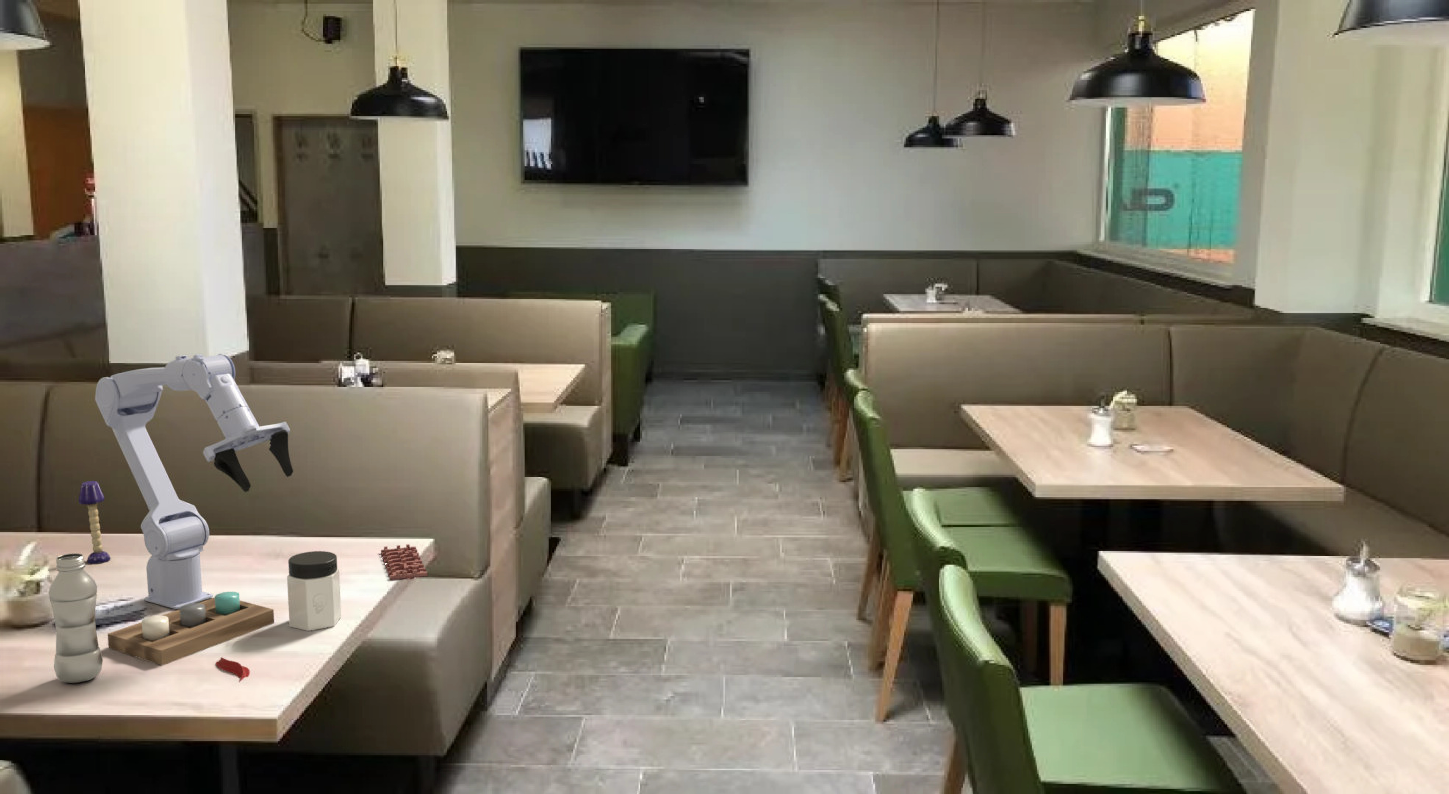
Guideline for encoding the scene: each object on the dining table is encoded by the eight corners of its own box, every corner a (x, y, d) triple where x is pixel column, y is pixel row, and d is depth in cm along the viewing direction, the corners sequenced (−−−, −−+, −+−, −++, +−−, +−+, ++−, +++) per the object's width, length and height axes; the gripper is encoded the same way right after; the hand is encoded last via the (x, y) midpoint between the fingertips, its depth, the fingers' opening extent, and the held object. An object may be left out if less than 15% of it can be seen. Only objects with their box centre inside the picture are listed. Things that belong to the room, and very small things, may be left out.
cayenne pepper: (252, 683, 181) (252, 672, 181) (220, 689, 179) (220, 677, 179) (245, 656, 192) (244, 645, 192) (215, 661, 190) (214, 649, 189)
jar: (295, 634, 200) (292, 568, 198) (284, 620, 207) (280, 555, 205) (347, 624, 205) (344, 560, 203) (335, 610, 212) (332, 548, 210)
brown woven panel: (390, 583, 229) (390, 574, 228) (381, 555, 246) (380, 546, 246) (427, 579, 231) (427, 570, 231) (415, 552, 249) (415, 543, 248)
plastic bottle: (67, 671, 184) (56, 550, 180) (111, 670, 184) (101, 550, 181) (47, 688, 177) (35, 563, 174) (93, 687, 178) (82, 563, 174)
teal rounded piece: (210, 611, 204) (209, 596, 204) (229, 605, 208) (229, 590, 207) (225, 616, 202) (224, 600, 202) (245, 609, 206) (244, 594, 205)
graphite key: (175, 624, 198) (174, 608, 198) (195, 617, 202) (194, 601, 201) (190, 628, 196) (189, 613, 196) (210, 621, 200) (209, 606, 199)
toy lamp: (93, 565, 235) (87, 486, 232) (78, 562, 237) (71, 483, 234) (115, 559, 239) (108, 481, 236) (100, 556, 241) (93, 478, 238)
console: (108, 648, 193) (107, 633, 193) (221, 608, 212) (220, 595, 212) (162, 665, 187) (161, 650, 186) (274, 622, 206) (273, 609, 205)
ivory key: (137, 637, 192) (136, 621, 192) (159, 629, 196) (158, 614, 195) (152, 642, 190) (151, 626, 190) (174, 634, 194) (173, 618, 193)
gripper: (196, 417, 193) (232, 486, 190) (278, 392, 202) (314, 457, 200) (189, 436, 198) (224, 503, 195) (269, 411, 207) (304, 475, 205)
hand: (269, 481), depth 198 cm, fingers open, 7 cm apart
